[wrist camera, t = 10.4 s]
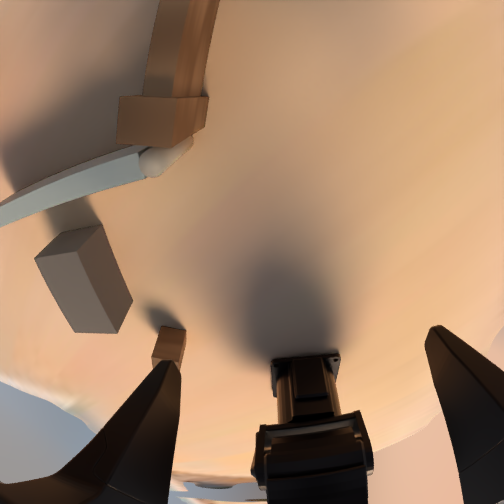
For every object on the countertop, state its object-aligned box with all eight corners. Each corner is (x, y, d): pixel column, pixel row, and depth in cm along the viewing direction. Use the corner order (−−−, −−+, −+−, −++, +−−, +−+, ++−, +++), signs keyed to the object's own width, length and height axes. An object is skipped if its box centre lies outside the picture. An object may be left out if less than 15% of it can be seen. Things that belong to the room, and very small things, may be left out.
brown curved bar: (193, -14, 11) (158, -65, 5) (231, -12, 11) (216, -68, 5) (162, 339, 24) (143, 404, 18) (185, 344, 25) (171, 410, 19)
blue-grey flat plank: (190, 129, 15) (161, 146, 11) (195, 148, 16) (168, 174, 11) (15, 193, 17) (-30, 223, 12) (19, 206, 17) (-23, 238, 13)
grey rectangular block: (133, 299, 22) (117, 333, 19) (93, 301, 23) (74, 332, 19) (103, 223, 19) (76, 251, 15) (61, 231, 19) (34, 258, 16)
